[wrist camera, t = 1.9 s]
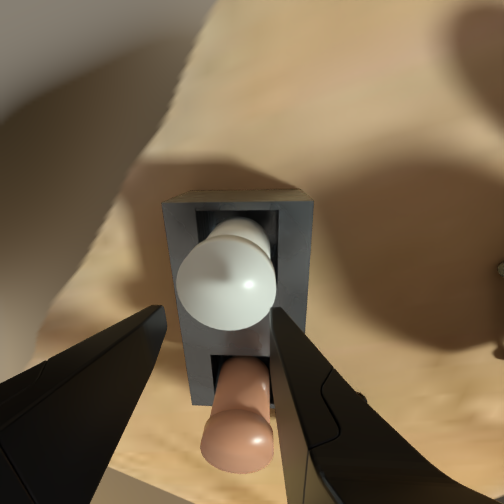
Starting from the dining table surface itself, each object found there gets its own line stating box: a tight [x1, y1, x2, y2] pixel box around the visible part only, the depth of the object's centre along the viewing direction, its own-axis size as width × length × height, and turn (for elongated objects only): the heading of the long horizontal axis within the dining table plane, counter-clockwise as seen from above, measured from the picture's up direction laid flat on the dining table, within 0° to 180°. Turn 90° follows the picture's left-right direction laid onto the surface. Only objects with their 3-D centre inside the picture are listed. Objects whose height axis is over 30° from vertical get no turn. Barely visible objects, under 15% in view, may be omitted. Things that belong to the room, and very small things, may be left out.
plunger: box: [176, 216, 276, 331], centre depth 13 cm, size 4×4×6 cm
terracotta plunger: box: [200, 355, 274, 474], centre depth 17 cm, size 4×4×6 cm
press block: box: [161, 189, 314, 408], centre depth 20 cm, size 17×9×6 cm, turn 1°
